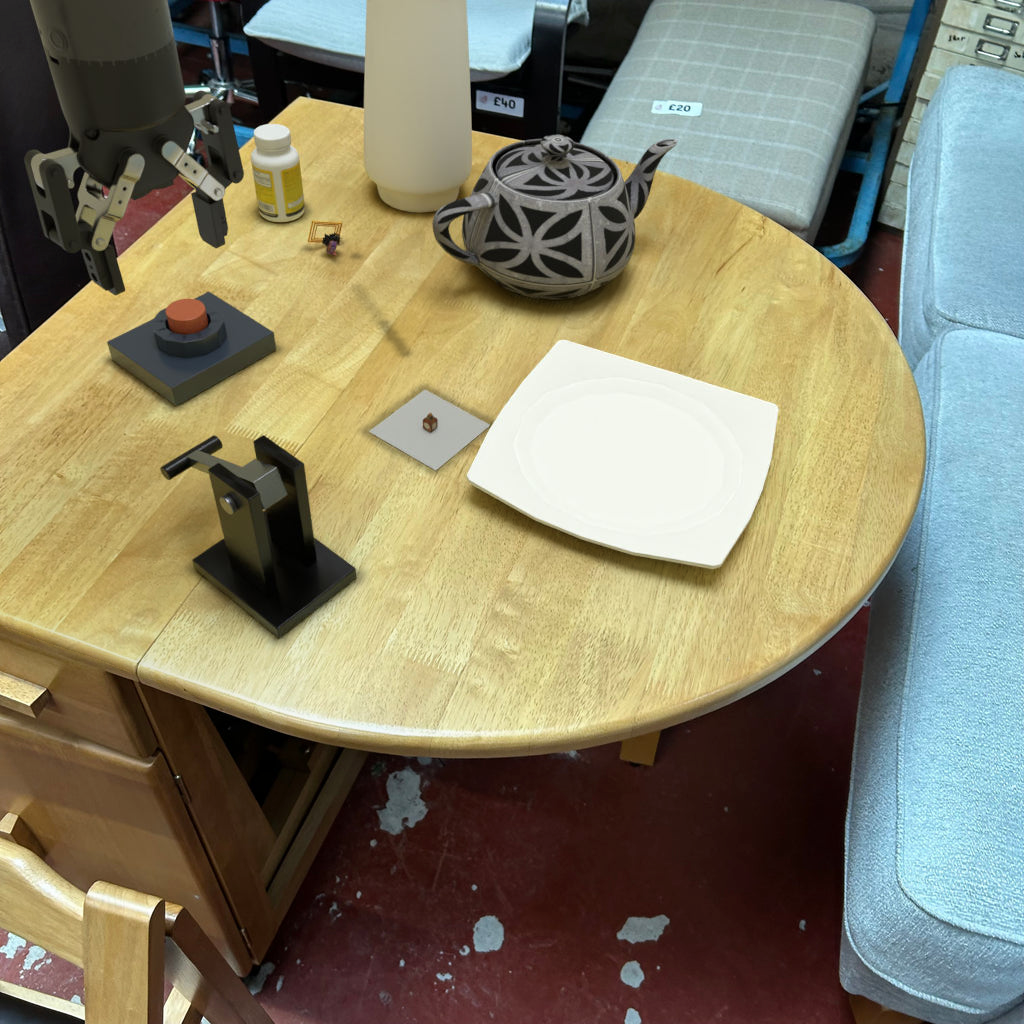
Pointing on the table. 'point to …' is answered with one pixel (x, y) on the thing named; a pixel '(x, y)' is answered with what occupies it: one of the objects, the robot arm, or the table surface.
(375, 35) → the vase
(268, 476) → the press lever
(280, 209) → the supplement bottle
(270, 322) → the table surface
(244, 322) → the button box
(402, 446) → the grey square pad
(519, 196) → the teapot
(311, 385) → the table surface
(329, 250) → the figurine with orange frame
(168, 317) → the button
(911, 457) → the table surface
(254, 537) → the lever bracket
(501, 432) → the plate
